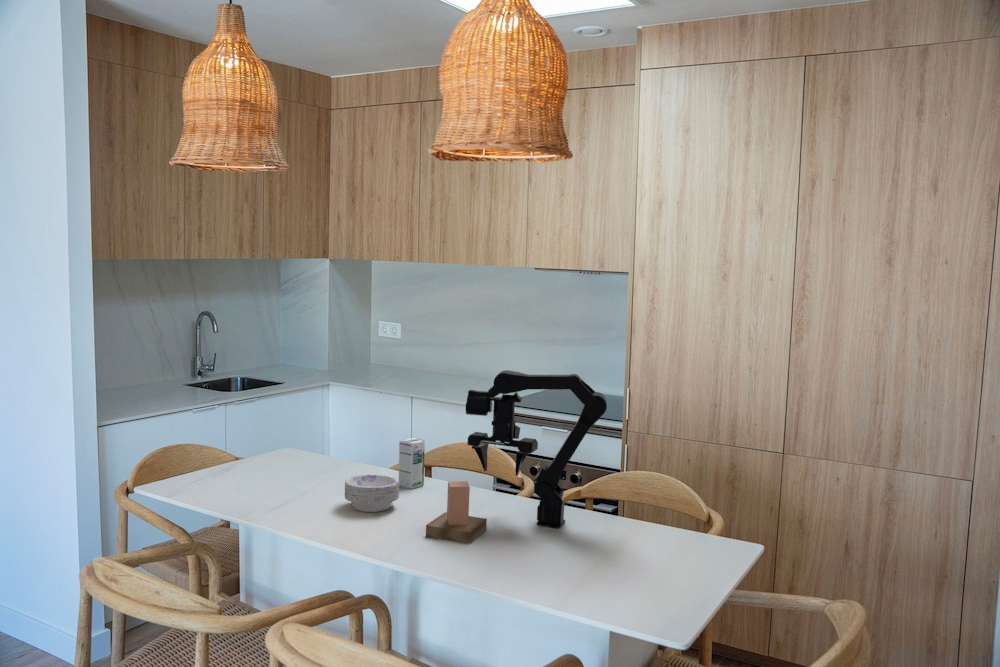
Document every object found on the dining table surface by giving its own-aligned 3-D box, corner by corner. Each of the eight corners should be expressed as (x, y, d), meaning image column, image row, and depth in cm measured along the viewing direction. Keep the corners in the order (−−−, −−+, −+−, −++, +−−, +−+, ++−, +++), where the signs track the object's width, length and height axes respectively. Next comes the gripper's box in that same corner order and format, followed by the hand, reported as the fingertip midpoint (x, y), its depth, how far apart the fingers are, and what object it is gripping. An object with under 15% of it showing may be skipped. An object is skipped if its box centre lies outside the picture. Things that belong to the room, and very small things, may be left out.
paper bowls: (371, 496, 241) (371, 470, 240) (409, 507, 232) (410, 479, 231) (332, 508, 228) (333, 480, 228) (371, 519, 220) (372, 490, 219)
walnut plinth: (486, 529, 215) (486, 518, 215) (469, 543, 204) (469, 532, 204) (444, 523, 219) (445, 512, 219) (425, 536, 208) (426, 525, 208)
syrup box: (411, 489, 250) (413, 443, 248) (397, 485, 253) (399, 439, 252) (424, 485, 254) (425, 440, 253) (410, 482, 258) (411, 437, 256)
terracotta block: (465, 518, 214) (467, 481, 214) (468, 524, 210) (469, 486, 209) (446, 518, 214) (448, 481, 213) (448, 525, 209) (450, 486, 208)
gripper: (544, 415, 227) (542, 470, 228) (482, 408, 233) (480, 462, 234) (532, 422, 216) (530, 480, 218) (467, 415, 222) (465, 471, 224)
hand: (501, 473), depth 224 cm, fingers open, 9 cm apart
